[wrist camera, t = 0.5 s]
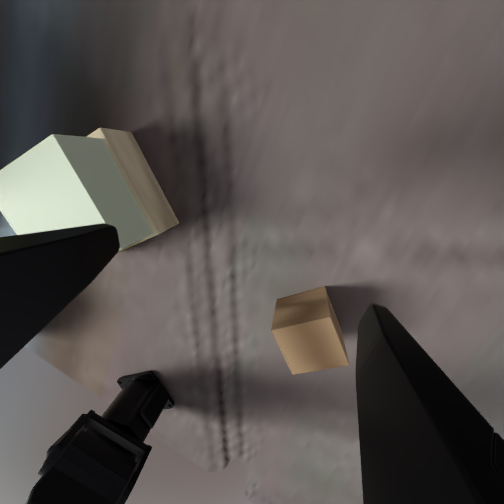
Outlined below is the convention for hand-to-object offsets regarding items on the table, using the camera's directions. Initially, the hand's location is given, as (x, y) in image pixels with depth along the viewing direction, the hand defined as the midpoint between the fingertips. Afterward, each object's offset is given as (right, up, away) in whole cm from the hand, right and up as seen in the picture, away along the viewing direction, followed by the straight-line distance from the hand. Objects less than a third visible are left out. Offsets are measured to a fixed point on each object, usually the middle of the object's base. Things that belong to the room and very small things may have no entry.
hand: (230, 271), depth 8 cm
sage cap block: (-13, +5, +13) cm, 19 cm away
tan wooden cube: (+7, -6, +17) cm, 19 cm away
